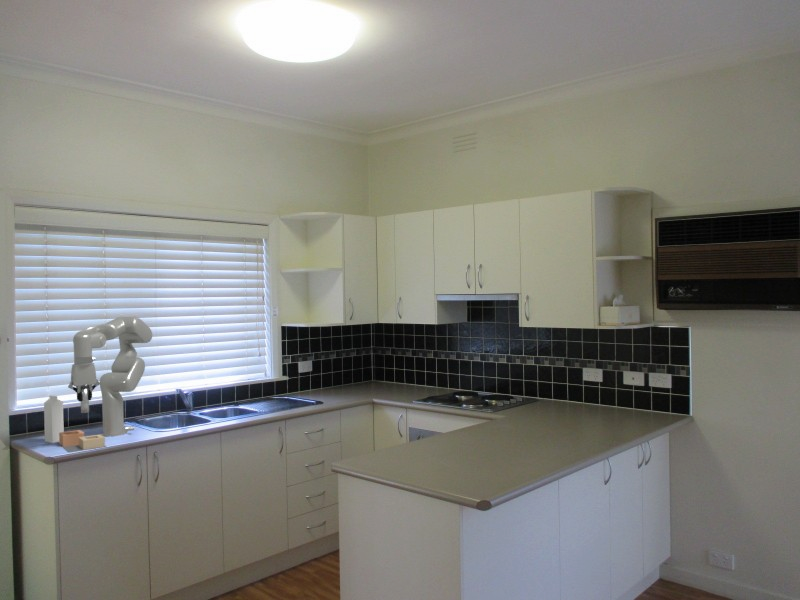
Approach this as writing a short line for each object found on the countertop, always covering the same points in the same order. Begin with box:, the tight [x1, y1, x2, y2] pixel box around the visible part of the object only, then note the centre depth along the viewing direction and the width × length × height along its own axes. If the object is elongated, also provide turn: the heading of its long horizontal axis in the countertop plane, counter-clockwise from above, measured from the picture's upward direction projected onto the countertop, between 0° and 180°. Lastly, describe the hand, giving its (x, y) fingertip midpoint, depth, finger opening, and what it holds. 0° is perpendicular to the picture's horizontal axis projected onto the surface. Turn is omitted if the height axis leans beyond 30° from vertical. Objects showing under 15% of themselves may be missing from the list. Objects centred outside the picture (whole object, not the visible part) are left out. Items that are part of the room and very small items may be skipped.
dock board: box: [57, 429, 107, 453], centre depth 304 cm, size 16×24×6 cm, turn 37°
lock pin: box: [80, 384, 90, 414], centre depth 303 cm, size 4×4×13 cm
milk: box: [43, 395, 65, 444], centre depth 318 cm, size 6×6×22 cm
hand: (84, 400), depth 303 cm, fingers closed on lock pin, 3 cm apart
